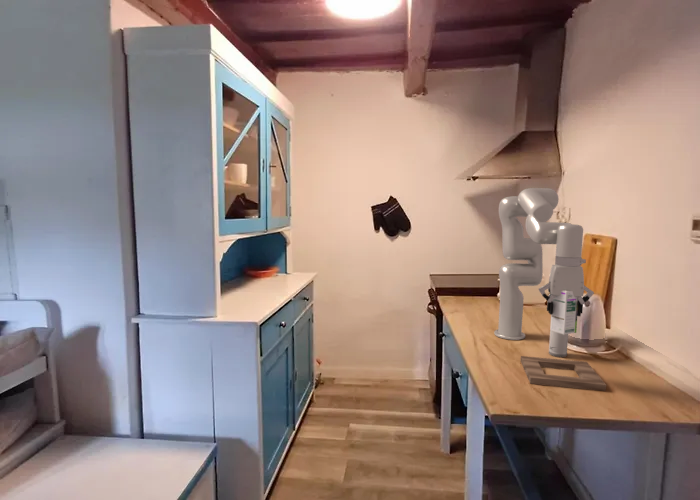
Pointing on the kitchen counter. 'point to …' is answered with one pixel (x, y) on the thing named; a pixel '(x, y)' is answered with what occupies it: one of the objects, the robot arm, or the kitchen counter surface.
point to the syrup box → (564, 313)
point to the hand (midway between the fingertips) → (564, 314)
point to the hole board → (583, 370)
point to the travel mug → (558, 344)
